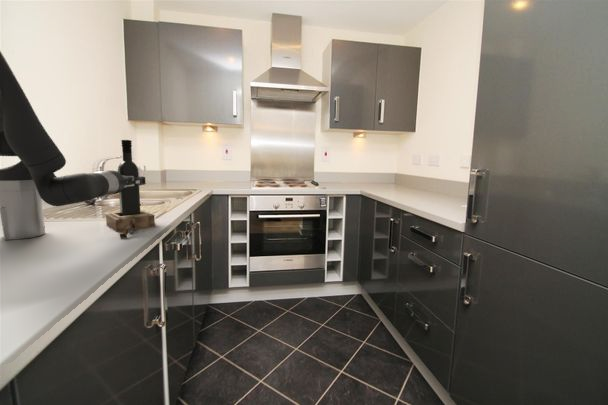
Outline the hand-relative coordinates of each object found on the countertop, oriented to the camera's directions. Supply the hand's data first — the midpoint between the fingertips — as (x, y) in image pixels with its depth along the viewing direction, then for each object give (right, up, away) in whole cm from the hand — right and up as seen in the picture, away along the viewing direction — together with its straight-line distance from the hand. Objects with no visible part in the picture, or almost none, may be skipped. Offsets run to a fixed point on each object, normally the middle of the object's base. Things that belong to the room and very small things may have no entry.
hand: (130, 179), depth 103 cm
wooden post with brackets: (+6, -19, -11) cm, 23 cm away
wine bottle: (0, -17, +1) cm, 17 cm away
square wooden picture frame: (0, -17, +1) cm, 17 cm away
